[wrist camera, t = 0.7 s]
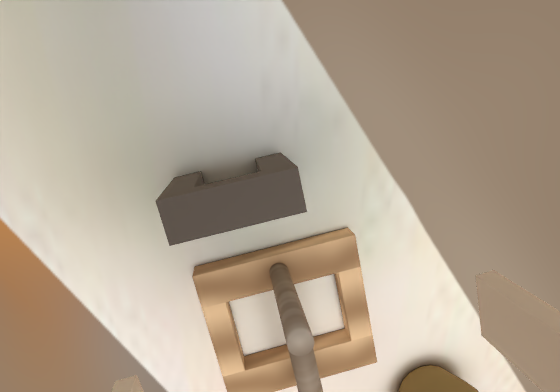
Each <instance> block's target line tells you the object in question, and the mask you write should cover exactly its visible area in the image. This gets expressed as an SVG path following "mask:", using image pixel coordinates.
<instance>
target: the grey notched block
mask: <svg viewBox="0 0 560 392" xmlns="http://www.w3.org/2000/svg"><path fill="white" fill-rule="evenodd" d="M255 160H256V164H257V169H258V172H256V173H251V174H247V175H243V176H239V177H235V178H230V179H226V180H222V181H218V182H214V183H209V184H205V185H204V181H203V177H202V174H201V171H200V172H196V173H192V174H188V175H183V176H179V177H175V178H174V179H173V180H172V181H171V182H170V184H169V185H168V186H167V187H166V189H165V190H164V191H163V192H162V194H161V195H160V196H159V197H158V199H157V200H156V204H157V207H158V210H159V213H160V217H161V220H162V223H163V226H164V229H165V233H166V236H167V239H168V242H169V245H170V246H171V245H175V244H179V243H183V242H187V241H191V240H195V239H199V238H203V237H207V236H211V235H215V234H219V233H223V232H227V231H231V230H235V229H239V228H243V227H247V226H251V225H255V224H259V223H263V222H267V221H271V220H275V219H279V218H283V217H287V216H291V215H295V214H299V213H303V212H307V210H306V205H305V200H304V195H303V190H302V185H301V181H300V176H299V171H298V167H297V166H296V165H295V164H293V163H292V162H291V161H290V160H289V159H288V158H286V157H285V156H284V155H283V154H282V153H277V154H273V155H268V156H264V157H260V158H256V159H255Z"/></svg>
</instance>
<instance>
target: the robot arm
mask: <svg viewBox="0 0 560 392" xmlns="http://www.w3.org/2000/svg"><path fill="white" fill-rule="evenodd" d="M475 277H476V287H477V296H478V306H479V316H480V325H481V335H482V336H483V337H484V338H485V339H486V340H487V341H488V342H489V343H490V344H491V345H493V346H494V347H495V348H496V349H497V350H498V351H499V352H500V353H501V354H502V355H503V356H505V357H506V358H507V359H508V360H509V361H510V362H511V363H512V364H513V365H514V366H515V367H517V368H518V369H519V370H520V371H521V372H522V373H523V374H524V375H525V376H527V377H528V378H529V379H530V380H531V381H532V382H533V383H534V384H535V385H536V386H537V387H539V388H540V389H541V390H542V391H543V392H560V311H558V310H557V309H555V308H554V307H552V306H550V305H549V304H547V303H546V302H544V301H542V300H541V299H539V298H538V297H536V296H534V295H533V294H531V293H530V292H528V291H526V290H525V289H523V288H522V287H520V286H518V285H517V284H515V283H514V282H512V281H511V280H509V279H507V278H505V277H504V276H502V275H501V274H499V273H498V272H496V271H495V270H492V271H489V272H485V273H482V274H478V275H476V276H475ZM111 392H144V391H143V389H142V386H141V384H140V381H139V379H138V377H137V375H134V376H131V377H127V378H124V379H120V380H117V381H116V382H115V383H114V386H113V388H112V391H111Z"/></svg>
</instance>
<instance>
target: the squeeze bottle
mask: <svg viewBox="0 0 560 392" xmlns="http://www.w3.org/2000/svg"><path fill="white" fill-rule="evenodd" d="M399 392H478V390H477V389H475V388H474V387H473V386H471V385H470V384H468V383H467V382H465V381H463V380H462V379H460V378H458V377H457V376H455V375H453V374H451V373H450V372H448V371H446V370H444V369H443V368H441V367H438V366H432V365H428V366H423V367H419V368H417V369H415V370H414V371H412V372H410V373H409V374H408V375H407V376H406V377H405V379H404V380H403V381H402V383H401V386H400V388H399Z"/></svg>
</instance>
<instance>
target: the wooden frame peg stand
mask: <svg viewBox="0 0 560 392" xmlns="http://www.w3.org/2000/svg"><path fill="white" fill-rule="evenodd" d="M331 274H335V279H336V285H337V290H338V295H339V300H340V305H341V310H342V315H343V320H344V326H345V328H344V329H341V330H337V331H334V332H330V333H326V334H323V335H319V336H315V337H313V336H312V333H311V330H310V328H309V325H308V322H307V319H306V317H305V314H304V311H303V308H302V306H301V303H300V300H299V298H298V295H297V292H296V289H295V287H294V284H297V283H300V282H304V281H308V280H312V279H316V278H319V277H323V276H327V275H331ZM192 277H193V280H194V284H195V287H196V290H197V294H198V297H199V300H200V303H201V307H202V310H203V313H204V317H205V320H206V323H207V326H208V330H209V333H210V336H211V340H212V343H213V346H214V350H215V353H216V356H217V359H218V363H219V366H220V369H221V373H222V376H223V379H224V382H225V386H226V389H227V392H275V391H278V390H282V389H285V388H289V387H292V386H296V385H297V388H298V392H323V390H322V385H321V381H320V378H324V377H327V376H331V375H334V374H338V373H341V372H345V371H348V370H352V369H355V368H359V367H362V366H366V365H369V364H373V363H376V362H377V358H376V353H375V347H374V341H373V335H372V330H371V324H370V318H369V313H368V307H367V301H366V295H365V290H364V284H363V278H362V272H361V267H360V261H359V255H358V249H357V244H356V238H355V234H354V233H353V232H352V231H351V230H350V229H349V228H345V229H341V230H337V231H333V232H329V233H325V234H321V235H317V236H313V237H309V238H305V239H301V240H297V241H294V242H290V243H286V244H282V245H278V246H274V247H270V248H266V249H262V250H258V251H254V252H250V253H246V254H242V255H239V256H235V257H231V258H227V259H223V260H219V261H215V262H211V263H207V264H203V265H199V266H195V267H194V272H193V276H192ZM270 290H274V294H275V298H276V302H277V306H278V310H279V314H280V318H281V322H282V326H283V330H284V334H285V339H286V343H287V345H283V346H279V347H276V348H272V349H268V350H265V351H261V352H258V353H254V354H250V355H247V356H244V355H243V351H242V348H241V344H240V341H239V337H238V333H237V330H236V326H235V323H234V319H233V316H232V312H231V309H230V305H229V301H232V300H236V299H240V298H244V297H247V296H251V295H255V294H259V293H263V292H266V291H270Z"/></svg>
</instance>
